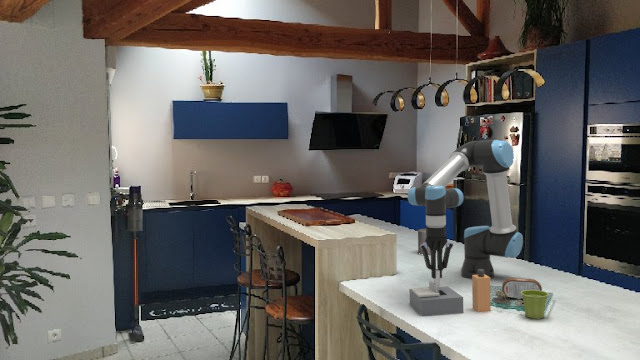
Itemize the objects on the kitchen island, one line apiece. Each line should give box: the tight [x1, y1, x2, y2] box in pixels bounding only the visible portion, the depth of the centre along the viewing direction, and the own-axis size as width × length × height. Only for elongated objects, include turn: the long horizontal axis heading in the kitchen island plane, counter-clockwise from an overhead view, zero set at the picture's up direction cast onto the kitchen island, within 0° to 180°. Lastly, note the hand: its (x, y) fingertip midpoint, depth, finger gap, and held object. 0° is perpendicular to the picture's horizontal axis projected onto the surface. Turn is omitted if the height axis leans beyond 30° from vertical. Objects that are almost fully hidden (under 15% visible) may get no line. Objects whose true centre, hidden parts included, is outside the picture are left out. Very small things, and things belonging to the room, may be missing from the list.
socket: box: [409, 285, 464, 317], centre depth 218 cm, size 16×16×6 cm
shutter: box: [410, 280, 440, 297], centre depth 217 cm, size 8×10×3 cm
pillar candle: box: [417, 228, 431, 256], centre depth 317 cm, size 10×10×15 cm
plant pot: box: [521, 290, 550, 320], centre depth 204 cm, size 9×9×9 cm
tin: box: [501, 277, 543, 298], centre depth 226 cm, size 15×3×8 cm, turn 71°
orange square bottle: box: [471, 269, 492, 313], centre depth 214 cm, size 5×5×16 cm
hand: (437, 286), depth 217 cm, fingers closed
